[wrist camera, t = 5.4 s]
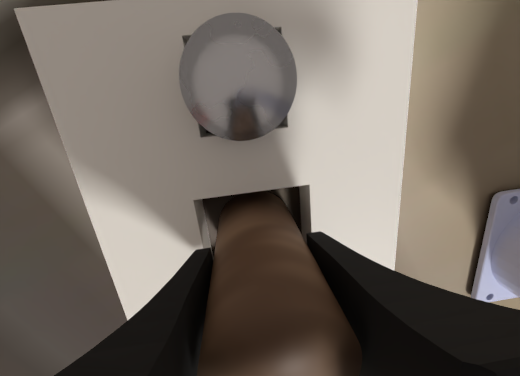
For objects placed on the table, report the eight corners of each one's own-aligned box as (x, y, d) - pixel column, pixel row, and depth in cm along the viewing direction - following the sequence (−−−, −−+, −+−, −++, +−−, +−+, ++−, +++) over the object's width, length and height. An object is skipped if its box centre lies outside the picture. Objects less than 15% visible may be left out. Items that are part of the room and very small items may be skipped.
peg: (287, 185, 13) (364, 294, 5) (292, 249, 14) (360, 412, 6) (213, 195, 13) (179, 324, 5) (224, 260, 14) (212, 441, 6)
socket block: (386, -1, 11) (419, -25, 9) (372, 265, 15) (392, 287, 13) (56, 28, 10) (13, 8, 8) (145, 301, 14) (131, 331, 12)
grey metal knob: (277, 35, 10) (293, 7, 8) (284, 128, 12) (300, 134, 9) (185, 44, 10) (166, 18, 7) (202, 138, 11) (191, 147, 9)
